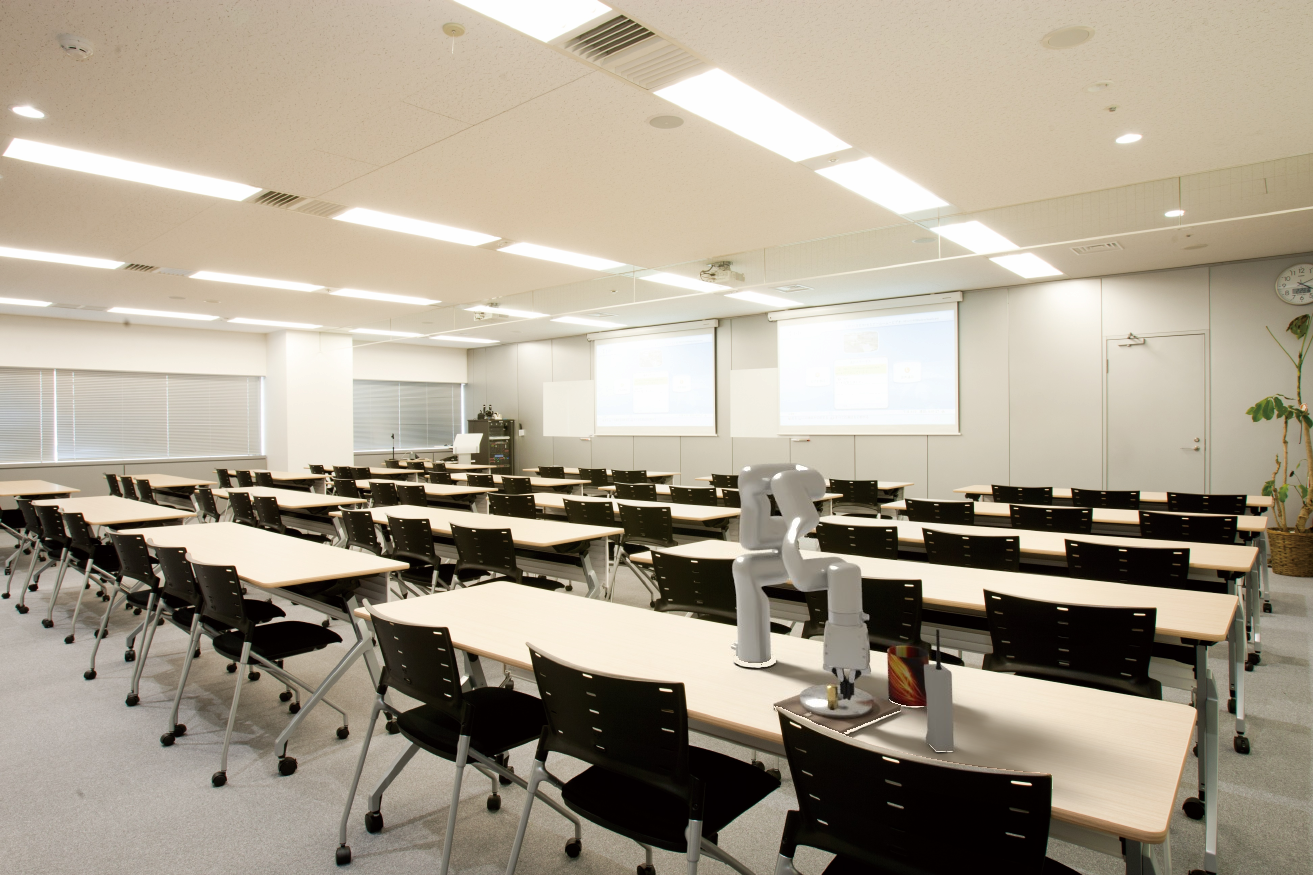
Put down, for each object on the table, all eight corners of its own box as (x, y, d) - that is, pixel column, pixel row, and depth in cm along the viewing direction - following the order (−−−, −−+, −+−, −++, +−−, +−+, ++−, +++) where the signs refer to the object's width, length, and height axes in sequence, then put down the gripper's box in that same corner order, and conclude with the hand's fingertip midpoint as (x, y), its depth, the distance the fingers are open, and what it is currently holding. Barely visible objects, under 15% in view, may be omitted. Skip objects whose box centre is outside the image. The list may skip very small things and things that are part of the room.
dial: (806, 687, 174) (805, 661, 174) (876, 694, 168) (875, 668, 168) (794, 712, 158) (793, 684, 158) (870, 722, 152) (870, 693, 152)
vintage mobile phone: (943, 742, 145) (939, 624, 145) (954, 752, 140) (950, 631, 140) (925, 742, 145) (922, 625, 145) (936, 753, 140) (932, 631, 140)
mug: (937, 716, 158) (936, 664, 158) (881, 701, 168) (880, 652, 168) (954, 703, 165) (952, 654, 165) (899, 690, 175) (897, 643, 175)
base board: (773, 709, 165) (773, 702, 165) (833, 687, 178) (833, 681, 178) (840, 737, 148) (840, 730, 148) (900, 711, 161) (900, 704, 161)
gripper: (880, 616, 157) (882, 695, 157) (815, 611, 163) (817, 688, 163) (878, 624, 150) (880, 708, 150) (809, 619, 156) (811, 699, 156)
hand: (847, 697), depth 156 cm, fingers closed
